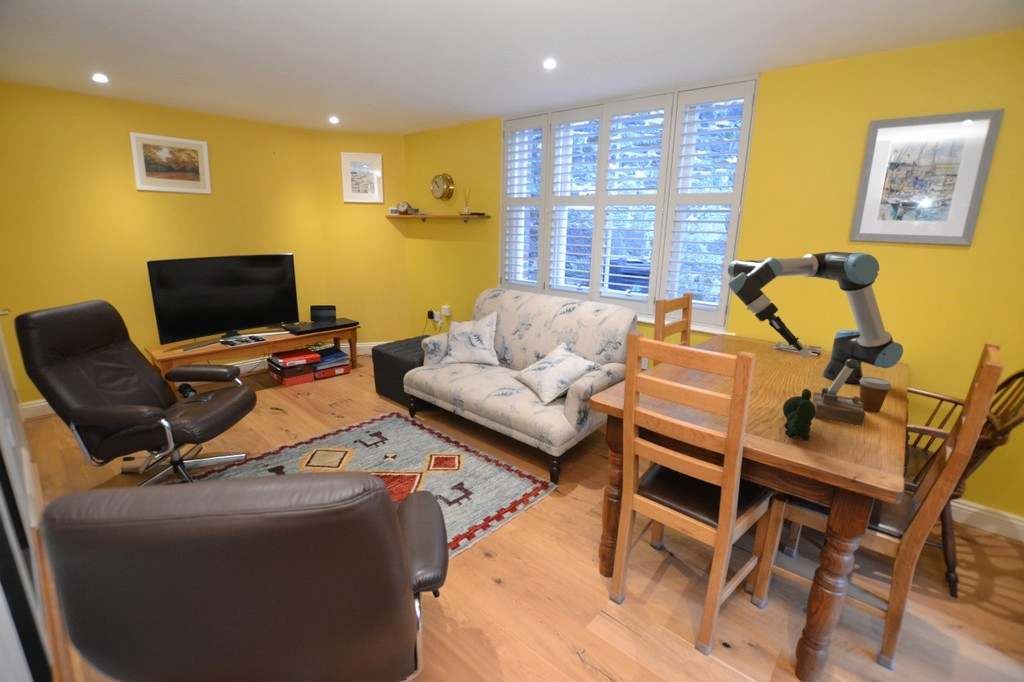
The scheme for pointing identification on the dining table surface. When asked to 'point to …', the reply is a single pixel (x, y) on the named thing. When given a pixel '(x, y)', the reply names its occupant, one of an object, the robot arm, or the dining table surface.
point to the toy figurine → (799, 415)
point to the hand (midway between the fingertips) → (806, 356)
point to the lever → (842, 376)
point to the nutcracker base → (838, 408)
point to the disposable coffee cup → (873, 393)
